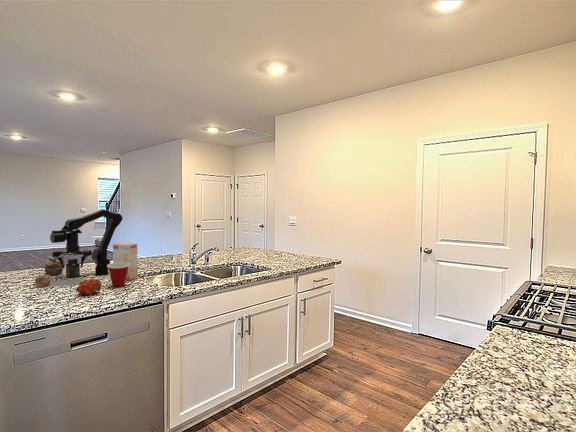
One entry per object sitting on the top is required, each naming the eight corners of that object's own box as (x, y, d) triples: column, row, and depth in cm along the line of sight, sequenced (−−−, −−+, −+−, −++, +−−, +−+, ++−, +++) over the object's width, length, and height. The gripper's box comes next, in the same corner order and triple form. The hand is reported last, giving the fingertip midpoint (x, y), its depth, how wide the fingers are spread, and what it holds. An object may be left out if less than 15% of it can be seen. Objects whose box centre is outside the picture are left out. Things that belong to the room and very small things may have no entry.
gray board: (84, 281, 191) (84, 278, 191) (79, 287, 178) (79, 284, 178) (42, 283, 184) (42, 281, 184) (34, 290, 171) (33, 287, 171)
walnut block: (49, 284, 178) (49, 275, 178) (47, 286, 173) (46, 277, 173) (38, 285, 176) (38, 275, 176) (35, 287, 172) (35, 277, 171)
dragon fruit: (104, 295, 170) (78, 303, 161) (97, 283, 174) (71, 291, 165) (106, 284, 166) (79, 292, 157) (98, 272, 169) (72, 279, 160)
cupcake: (66, 274, 207) (66, 258, 206) (48, 277, 199) (48, 260, 198) (59, 272, 212) (59, 256, 211) (41, 275, 204) (41, 258, 203)
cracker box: (138, 278, 199) (137, 243, 198) (129, 280, 194) (129, 244, 193) (121, 276, 205) (121, 242, 204) (112, 278, 200) (112, 243, 198)
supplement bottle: (63, 279, 193) (62, 259, 193) (74, 277, 200) (74, 257, 199) (71, 281, 191) (71, 260, 190) (82, 278, 197) (82, 258, 197)
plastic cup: (107, 289, 174) (106, 266, 174) (107, 284, 184) (107, 263, 183) (130, 287, 179) (129, 265, 179) (129, 282, 189) (129, 261, 188)
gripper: (93, 239, 205) (93, 264, 206) (57, 240, 198) (57, 266, 199) (90, 241, 195) (90, 268, 196) (51, 242, 188) (52, 270, 189)
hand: (72, 268), depth 195 cm, fingers open, 8 cm apart
